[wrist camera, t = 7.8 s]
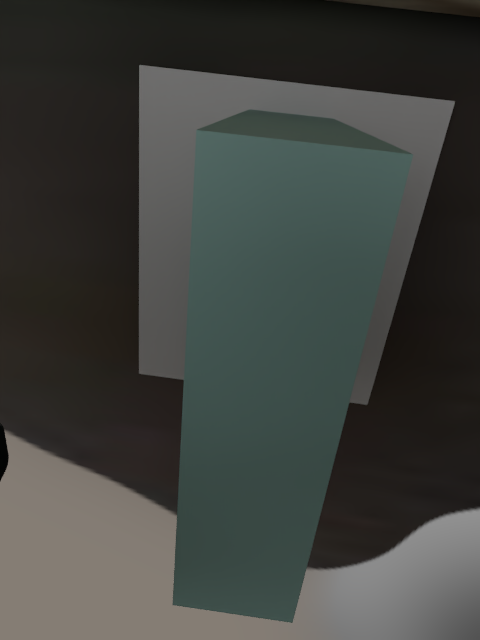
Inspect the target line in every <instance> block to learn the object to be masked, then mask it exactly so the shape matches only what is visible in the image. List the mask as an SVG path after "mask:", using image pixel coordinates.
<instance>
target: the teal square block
mask: <svg viewBox="0 0 480 640" xmlns="http://www.w3.org/2000/svg"><path fill="white" fill-rule="evenodd" d="M412 158H413V154H411V153H409V152H407V151H405V150H402V149H400V148H398V147H396V146H393V145H391V144H389V143H387V142H385V141H382V140H380V139H378V138H376V137H373V136H371V135H369V134H367V133H364V132H362V131H360V130H358V129H356V128H353V127H351V126H349V125H347V124H344V123H342V122H340V121H338V120H336V119H333V118H324V117H315V116H306V115H297V114H288V113H279V112H270V111H261V110H252V109H249V110H246V111H244V112H241V113H238V114H236V115H233V116H231V117H228V118H226V119H223V120H220V121H218V122H215V123H213V124H210V125H208V126H205V127H202V128H200V129H197V130H196V146H195V166H194V186H193V206H192V227H191V247H190V267H189V287H188V307H187V327H186V348H185V368H184V388H183V408H182V428H181V449H180V469H179V489H178V509H177V530H176V549H175V570H174V591H173V605H177V606H183V607H190V608H197V609H204V610H211V611H217V612H225V613H231V614H238V615H244V616H251V617H258V618H265V619H271V620H278V621H284V622H291V623H292V622H293V618H294V614H295V610H296V607H297V603H298V599H299V595H300V591H301V587H302V583H303V579H304V575H305V571H306V568H307V564H308V560H309V556H310V552H311V549H312V545H313V541H314V537H315V533H316V529H317V525H318V521H319V518H320V514H321V510H322V506H323V502H324V498H325V494H326V491H327V487H328V483H329V479H330V475H331V471H332V467H333V463H334V460H335V456H336V452H337V448H338V444H339V440H340V436H341V432H342V429H343V425H344V421H345V417H346V413H347V409H348V405H349V402H350V398H351V394H352V390H353V386H354V382H355V378H356V374H357V371H358V367H359V363H360V359H361V355H362V351H363V347H364V343H365V340H366V336H367V332H368V328H369V324H370V320H371V316H372V313H373V309H374V305H375V301H376V297H377V293H378V289H379V285H380V282H381V278H382V274H383V270H384V266H385V262H386V258H387V255H388V251H389V247H390V243H391V239H392V235H393V231H394V227H395V224H396V220H397V216H398V212H399V208H400V204H401V200H402V196H403V193H404V189H405V185H406V181H407V177H408V173H409V169H410V166H411V162H412Z"/></svg>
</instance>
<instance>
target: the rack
mask: <svg viewBox="0 0 480 640" xmlns="http://www.w3.org/2000/svg"><path fill="white" fill-rule="evenodd" d="M326 1H336V2H345V3H354V4H363V5H372V6H381V7H390V8H400V9H409V10H418V11H427V12H436V13H445V14H454V15H464V16H473V17H480V0H326Z"/></svg>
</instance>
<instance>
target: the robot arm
mask: <svg viewBox="0 0 480 640" xmlns="http://www.w3.org/2000/svg"><path fill="white" fill-rule="evenodd" d="M7 465H8V450H7V444H6V438H5V432H4V428H3V426H2V424H1V423H0V481H1V478H2V476H3V474H4V472H5V470H6V468H7Z"/></svg>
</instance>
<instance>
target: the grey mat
mask: <svg viewBox="0 0 480 640" xmlns="http://www.w3.org/2000/svg"><path fill="white" fill-rule="evenodd" d="M454 104H455V101H448V100H439V99H431V98H422V97H413V96H405V95H396V94H387V93H379V92H370V91H361V90H353V89H344V88H335V87H327V86H318V85H309V84H301V83H292V82H283V81H275V80H266V79H257V78H248V77H240V76H231V75H222V74H214V73H205V72H196V71H188V70H179V69H170V68H162V67H153V66H144V65H139V374H145V375H152V376H159V377H167V378H174V379H181V380H184V368H185V348H186V327H187V307H188V287H189V267H190V247H191V227H192V206H193V186H194V166H195V146H196V130H197V129H200V128H202V127H205V126H208V125H210V124H213V123H215V122H218V121H220V120H223V119H226V118H228V117H231V116H233V115H236V114H238V113H241V112H244V111H246V110H249V109H252V110H261V111H270V112H279V113H288V114H297V115H306V116H315V117H324V118H333V119H336V120H338V121H340V122H342V123H344V124H347V125H349V126H351V127H353V128H356V129H358V130H360V131H362V132H364V133H367V134H369V135H371V136H373V137H376V138H378V139H380V140H382V141H385V142H387V143H389V144H391V145H393V146H396V147H398V148H400V149H402V150H405V151H407V152H409V153H411V154H413V158H412V162H411V166H410V169H409V173H408V177H407V181H406V185H405V189H404V193H403V196H402V200H401V204H400V208H399V212H398V216H397V220H396V224H395V227H394V231H393V235H392V239H391V243H390V247H389V251H388V255H387V258H386V262H385V266H384V270H383V274H382V278H381V282H380V285H379V289H378V293H377V297H376V301H375V305H374V309H373V313H372V316H371V320H370V324H369V328H368V332H367V336H366V340H365V343H364V347H363V351H362V355H361V359H360V363H359V367H358V371H357V374H356V378H355V382H354V386H353V390H352V394H351V398H350V403H357V404H365V405H368V401H369V398H370V394H371V391H372V387H373V384H374V380H375V377H376V373H377V370H378V366H379V363H380V360H381V356H382V353H383V349H384V346H385V342H386V339H387V335H388V332H389V328H390V325H391V322H392V318H393V315H394V311H395V308H396V304H397V301H398V297H399V294H400V290H401V287H402V284H403V280H404V277H405V273H406V270H407V266H408V263H409V259H410V256H411V252H412V249H413V245H414V242H415V239H416V235H417V232H418V228H419V225H420V221H421V218H422V214H423V211H424V207H425V204H426V201H427V197H428V194H429V190H430V187H431V183H432V180H433V176H434V173H435V169H436V166H437V162H438V159H439V156H440V152H441V149H442V145H443V142H444V138H445V135H446V131H447V128H448V124H449V121H450V118H451V114H452V111H453V107H454Z"/></svg>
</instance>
